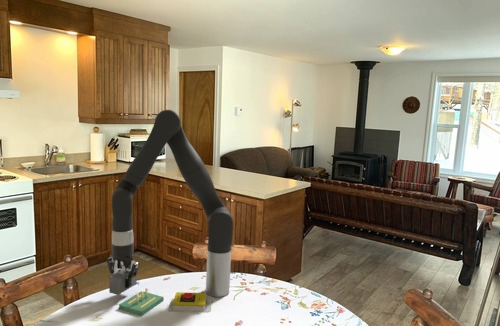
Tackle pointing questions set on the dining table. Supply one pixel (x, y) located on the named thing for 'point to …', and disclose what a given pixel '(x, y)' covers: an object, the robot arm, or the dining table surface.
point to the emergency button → (190, 302)
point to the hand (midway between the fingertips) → (123, 286)
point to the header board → (141, 302)
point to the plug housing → (119, 283)
